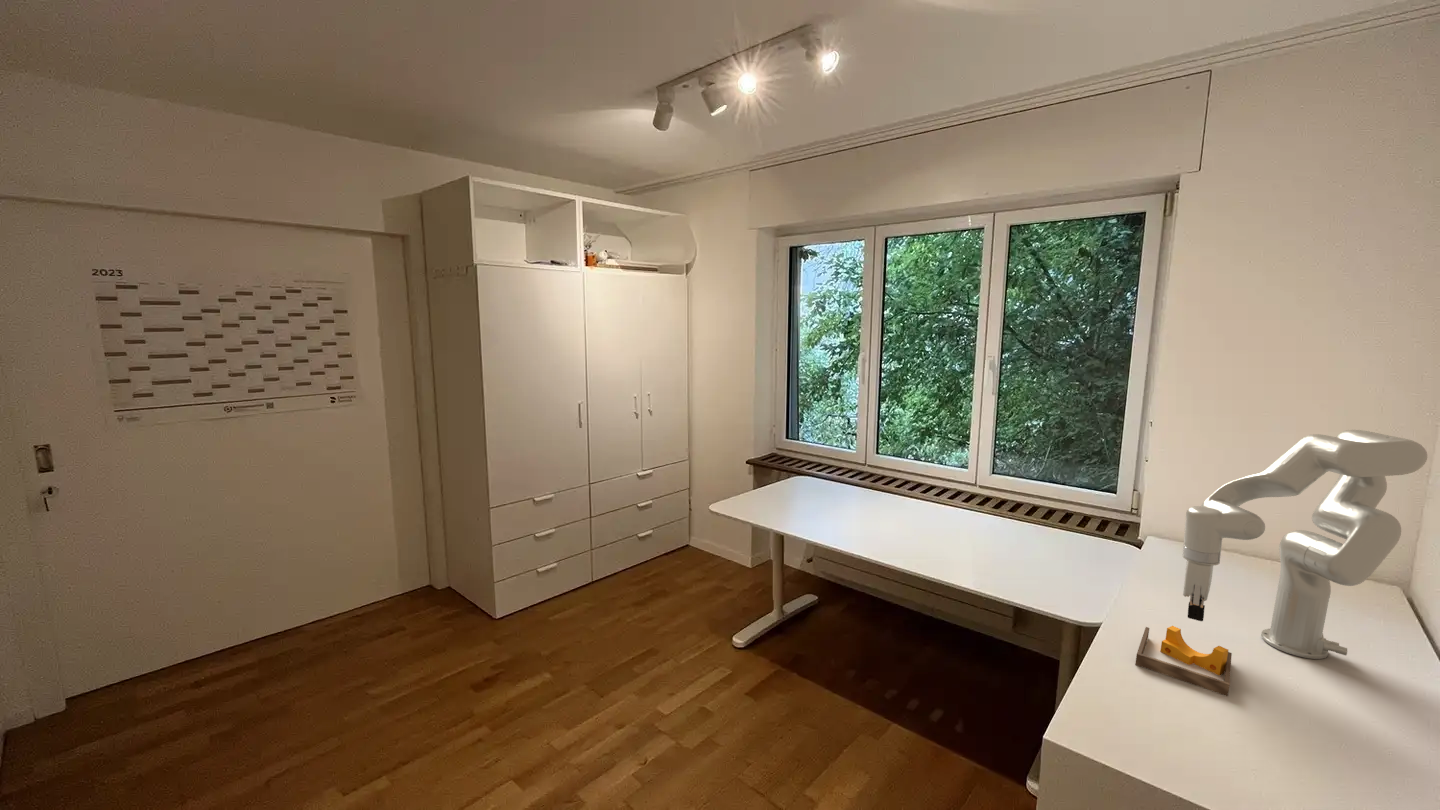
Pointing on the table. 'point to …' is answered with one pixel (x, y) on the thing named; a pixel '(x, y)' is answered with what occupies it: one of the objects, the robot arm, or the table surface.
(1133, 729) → the table surface
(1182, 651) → the pipe clamp
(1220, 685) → the walnut bay
